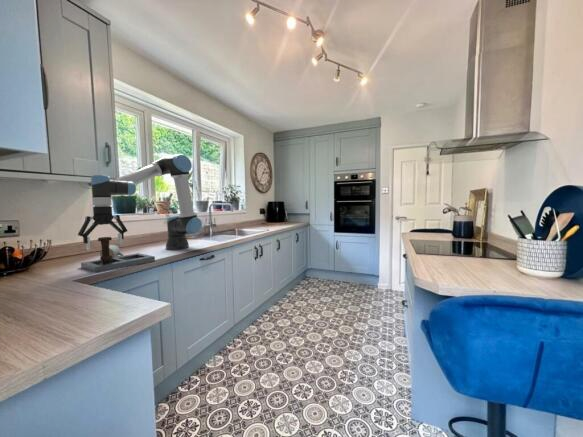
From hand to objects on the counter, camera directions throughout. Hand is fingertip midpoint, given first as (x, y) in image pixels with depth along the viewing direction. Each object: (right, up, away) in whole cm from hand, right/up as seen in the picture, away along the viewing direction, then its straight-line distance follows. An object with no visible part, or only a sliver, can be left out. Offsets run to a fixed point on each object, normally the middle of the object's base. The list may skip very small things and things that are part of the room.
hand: (105, 247), depth 123 cm
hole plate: (+4, -9, +6) cm, 11 cm away
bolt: (0, -10, +1) cm, 10 cm away
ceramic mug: (-11, -9, +21) cm, 25 cm away
